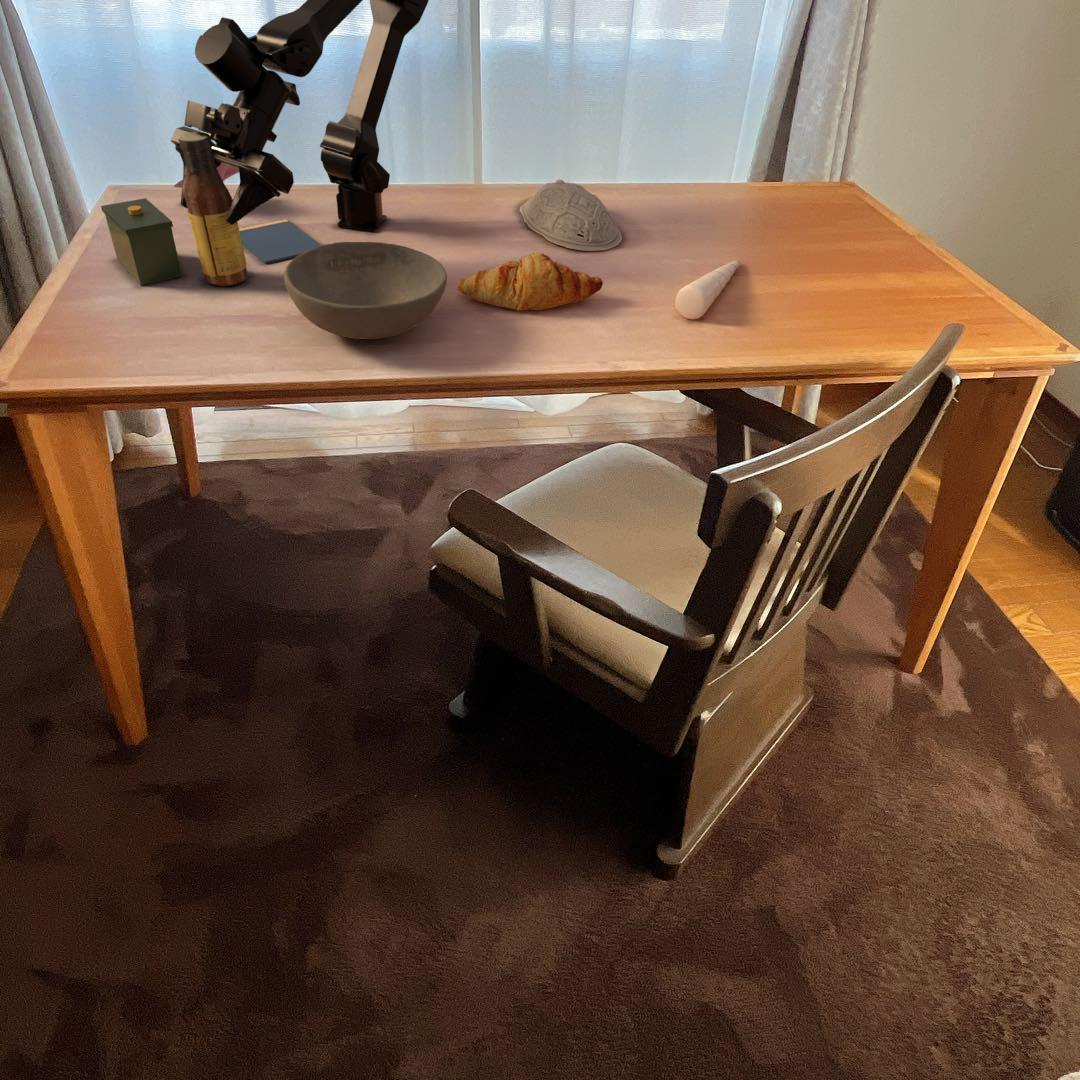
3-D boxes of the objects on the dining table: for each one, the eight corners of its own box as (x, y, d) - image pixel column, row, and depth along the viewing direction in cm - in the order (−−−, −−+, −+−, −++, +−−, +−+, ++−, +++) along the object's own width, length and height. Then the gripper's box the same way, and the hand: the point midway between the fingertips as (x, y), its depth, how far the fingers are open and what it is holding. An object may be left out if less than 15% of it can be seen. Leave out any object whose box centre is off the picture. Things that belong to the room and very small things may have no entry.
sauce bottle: (254, 272, 130) (231, 130, 117) (239, 290, 125) (213, 144, 112) (212, 268, 130) (183, 126, 117) (195, 286, 126) (163, 140, 113)
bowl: (278, 301, 123) (269, 246, 118) (420, 283, 130) (418, 230, 125) (310, 374, 109) (302, 315, 104) (468, 349, 116) (468, 293, 110)
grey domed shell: (551, 251, 140) (557, 208, 136) (504, 204, 159) (508, 165, 155) (638, 253, 145) (646, 212, 142) (582, 207, 164) (588, 169, 160)
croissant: (458, 329, 127) (458, 294, 120) (455, 272, 131) (454, 235, 123) (602, 325, 129) (610, 291, 122) (594, 269, 133) (602, 233, 125)
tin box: (158, 252, 134) (144, 192, 128) (184, 276, 128) (170, 215, 122) (115, 260, 131) (99, 200, 125) (140, 286, 125) (123, 224, 119)
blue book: (285, 221, 146) (285, 218, 145) (325, 250, 137) (325, 247, 137) (228, 233, 141) (227, 230, 140) (265, 264, 133) (265, 260, 132)
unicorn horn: (760, 269, 141) (766, 240, 138) (701, 325, 125) (707, 293, 122) (732, 262, 142) (738, 233, 139) (671, 315, 127) (676, 284, 124)
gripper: (167, 61, 117) (116, 166, 117) (264, 88, 110) (210, 200, 110) (224, 113, 127) (177, 209, 127) (317, 141, 120) (267, 243, 120)
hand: (206, 214), depth 121 cm, fingers open, 9 cm apart
